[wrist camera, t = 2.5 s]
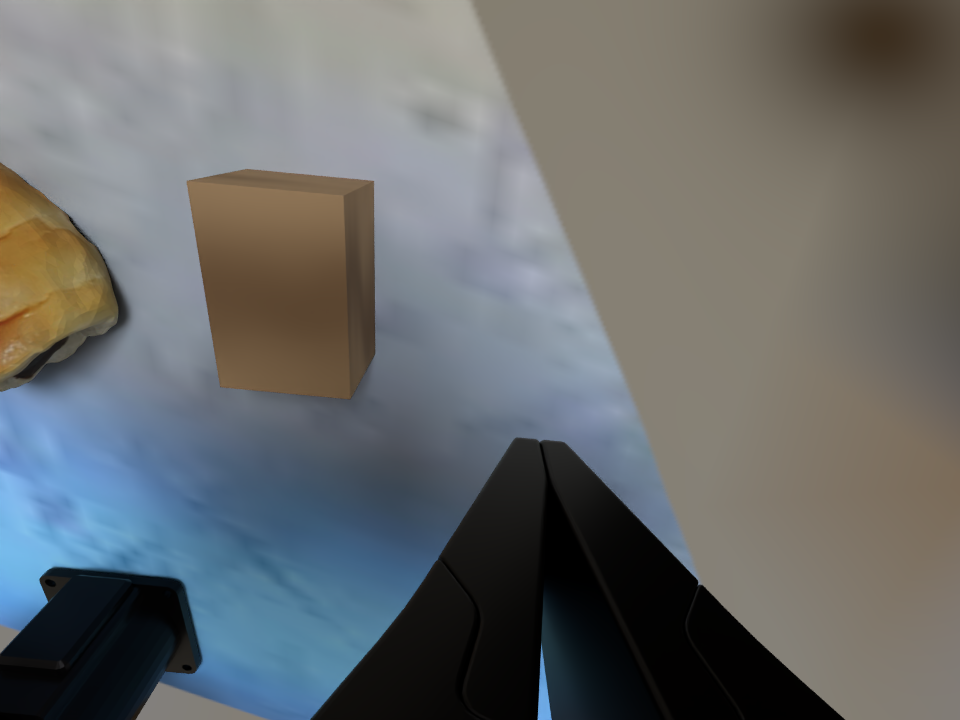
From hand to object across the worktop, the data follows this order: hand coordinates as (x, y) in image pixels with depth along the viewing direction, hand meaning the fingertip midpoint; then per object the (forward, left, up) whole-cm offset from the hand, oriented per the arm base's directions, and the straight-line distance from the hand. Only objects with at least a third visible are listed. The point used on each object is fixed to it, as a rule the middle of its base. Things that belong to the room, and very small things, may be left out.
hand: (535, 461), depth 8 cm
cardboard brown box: (0, +7, -10) cm, 12 cm away
